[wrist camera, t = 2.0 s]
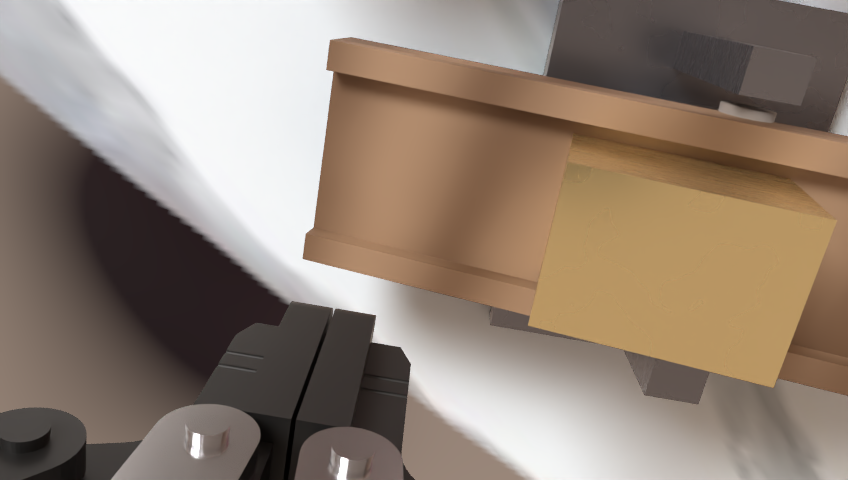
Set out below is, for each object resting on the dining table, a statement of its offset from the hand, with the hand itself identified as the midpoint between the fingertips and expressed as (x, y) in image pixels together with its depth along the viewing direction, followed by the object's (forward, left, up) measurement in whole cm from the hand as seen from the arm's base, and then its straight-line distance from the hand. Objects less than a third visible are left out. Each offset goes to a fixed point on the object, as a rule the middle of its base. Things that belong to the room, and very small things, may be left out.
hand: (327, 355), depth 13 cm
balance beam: (-12, 0, -17) cm, 20 cm away
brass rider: (-9, 0, -13) cm, 16 cm away
